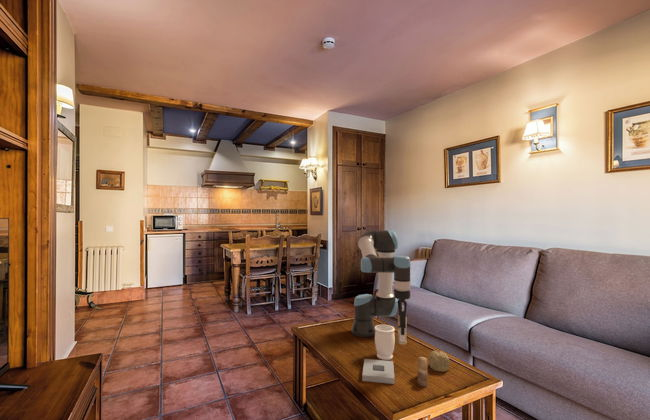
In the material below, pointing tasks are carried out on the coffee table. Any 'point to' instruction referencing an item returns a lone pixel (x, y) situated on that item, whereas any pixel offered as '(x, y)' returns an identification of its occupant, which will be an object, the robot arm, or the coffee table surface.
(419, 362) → the oak pin
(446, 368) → the decorative object
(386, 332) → the jar
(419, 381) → the walnut pin
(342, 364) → the coffee table surface
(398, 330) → the birch pin
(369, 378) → the hole plate
